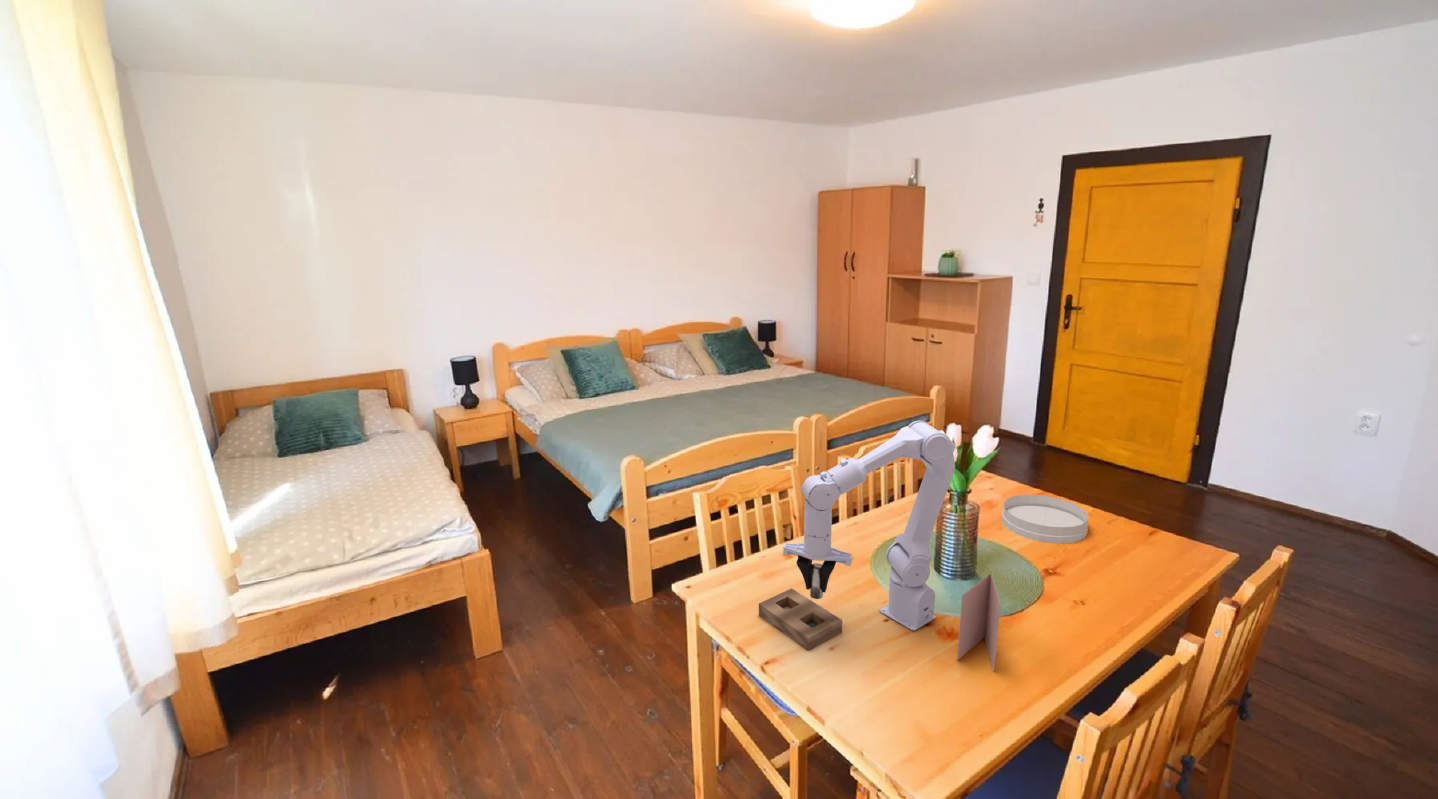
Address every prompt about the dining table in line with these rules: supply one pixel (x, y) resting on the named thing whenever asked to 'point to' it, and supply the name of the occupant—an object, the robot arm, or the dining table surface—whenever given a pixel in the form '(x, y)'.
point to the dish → (1045, 519)
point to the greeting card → (979, 618)
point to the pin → (816, 581)
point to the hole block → (800, 618)
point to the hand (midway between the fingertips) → (816, 588)
